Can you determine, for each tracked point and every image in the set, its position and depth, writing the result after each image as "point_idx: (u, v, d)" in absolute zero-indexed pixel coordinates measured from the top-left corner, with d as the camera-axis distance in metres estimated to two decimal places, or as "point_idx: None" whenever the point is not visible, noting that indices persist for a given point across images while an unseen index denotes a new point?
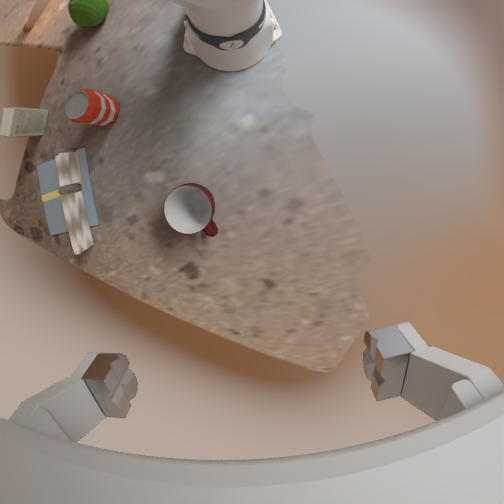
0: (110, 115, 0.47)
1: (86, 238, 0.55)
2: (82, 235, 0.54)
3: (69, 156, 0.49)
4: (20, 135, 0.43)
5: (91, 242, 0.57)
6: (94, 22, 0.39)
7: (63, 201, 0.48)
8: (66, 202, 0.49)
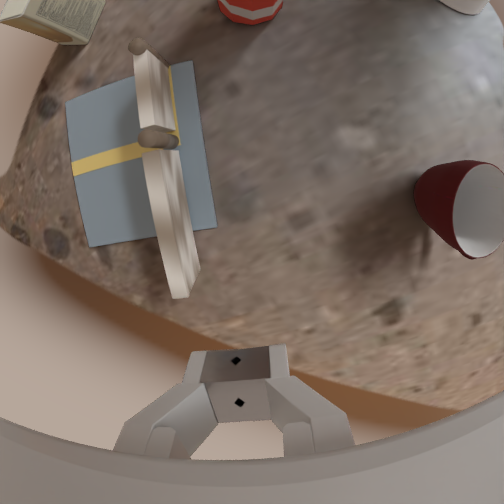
0: (278, 0, 0.19)
1: (192, 257, 0.27)
2: (186, 251, 0.26)
3: (160, 69, 0.21)
4: (45, 22, 0.15)
5: (197, 265, 0.29)
6: None
7: (149, 165, 0.21)
8: (159, 167, 0.21)
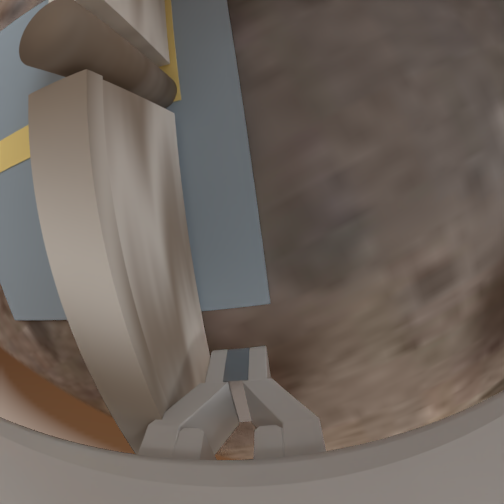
0: None
1: None
2: (192, 388, 0.09)
3: None
4: None
5: None
6: None
7: (48, 139, 0.04)
8: (81, 149, 0.04)
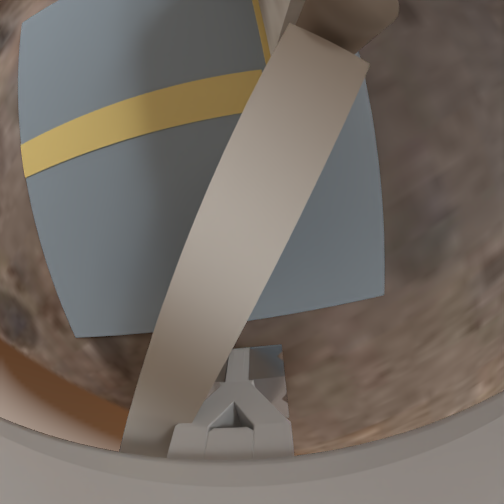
0: None
1: None
2: None
3: None
4: None
5: None
6: None
7: (293, 88, 0.04)
8: (326, 130, 0.04)
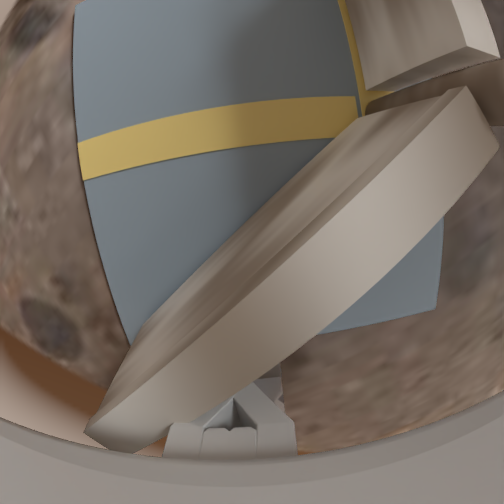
0: None
1: None
2: None
3: None
4: None
5: None
6: None
7: (454, 137, 0.04)
8: (460, 181, 0.04)
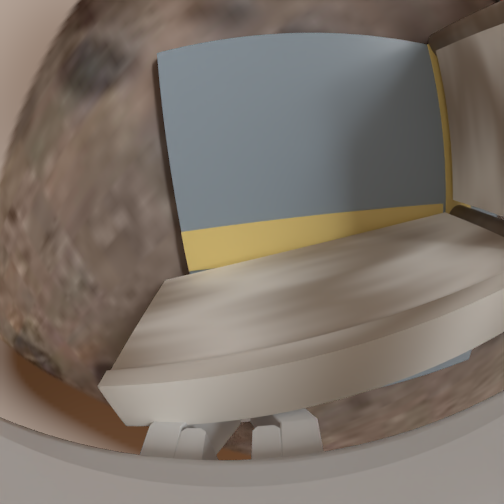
0: None
1: None
2: None
3: None
4: None
5: None
6: None
7: None
8: None
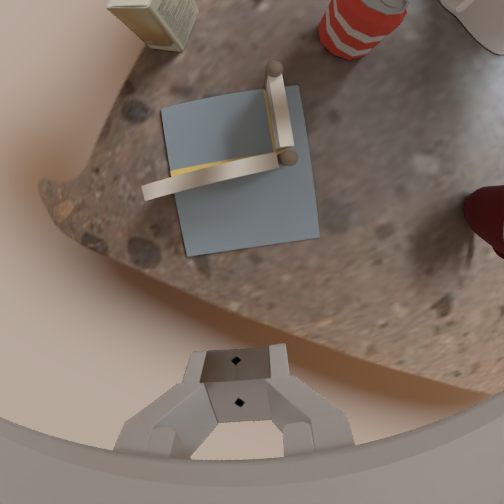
0: None
1: None
2: None
3: None
4: (161, 21, 0.19)
5: None
6: None
7: (264, 160, 0.24)
8: (262, 169, 0.24)
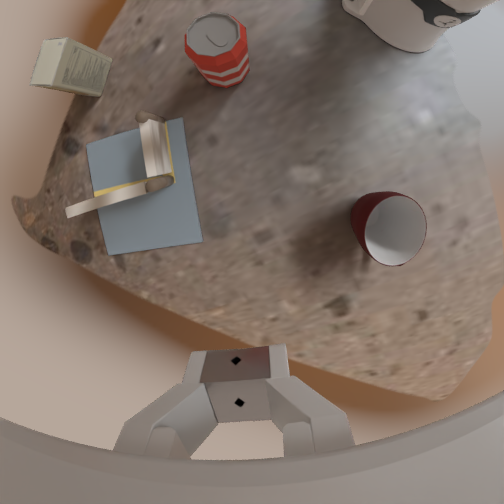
0: (244, 70, 0.30)
1: None
2: None
3: (159, 128, 0.33)
4: (69, 87, 0.26)
5: None
6: None
7: (136, 188, 0.31)
8: (135, 195, 0.31)
